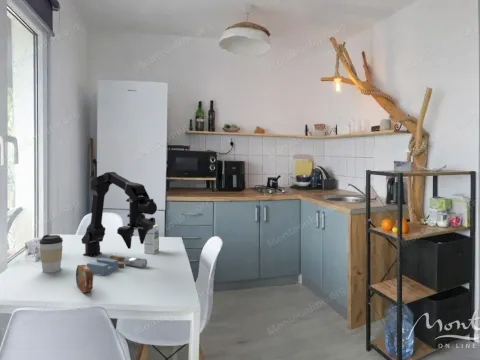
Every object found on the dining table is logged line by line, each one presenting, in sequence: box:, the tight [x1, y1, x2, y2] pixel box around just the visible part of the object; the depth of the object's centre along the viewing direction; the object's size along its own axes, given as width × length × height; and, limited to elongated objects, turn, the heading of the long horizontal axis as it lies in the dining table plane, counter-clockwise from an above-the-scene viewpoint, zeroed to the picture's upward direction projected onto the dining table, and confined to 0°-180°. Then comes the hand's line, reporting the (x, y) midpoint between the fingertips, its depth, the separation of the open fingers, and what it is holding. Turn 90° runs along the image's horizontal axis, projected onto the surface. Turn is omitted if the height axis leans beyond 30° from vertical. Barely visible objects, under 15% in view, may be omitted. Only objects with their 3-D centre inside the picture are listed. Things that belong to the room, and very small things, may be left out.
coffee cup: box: [38, 234, 64, 273], centre depth 148 cm, size 9×9×15 cm
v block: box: [86, 257, 119, 276], centre depth 149 cm, size 9×9×4 cm
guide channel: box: [109, 254, 126, 269], centre depth 160 cm, size 13×9×2 cm
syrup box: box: [143, 223, 160, 255], centre depth 179 cm, size 6×6×14 cm
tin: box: [75, 264, 94, 294], centre depth 129 cm, size 15×3×8 cm, turn 38°
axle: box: [123, 255, 148, 269], centre depth 157 cm, size 10×4×4 cm, turn 70°
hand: (135, 246), depth 155 cm, fingers open, 9 cm apart
